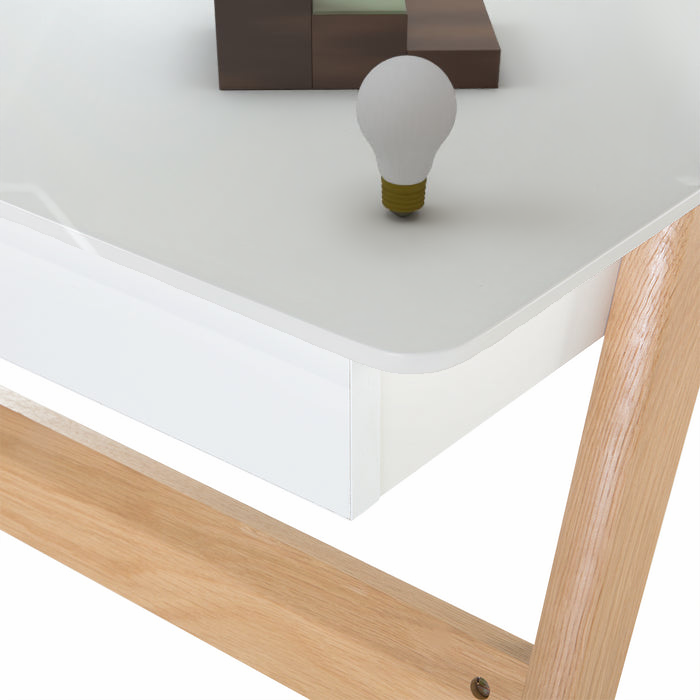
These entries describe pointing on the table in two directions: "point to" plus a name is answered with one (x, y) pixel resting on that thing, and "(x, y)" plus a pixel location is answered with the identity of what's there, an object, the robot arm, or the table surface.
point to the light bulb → (405, 125)
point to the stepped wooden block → (350, 41)
